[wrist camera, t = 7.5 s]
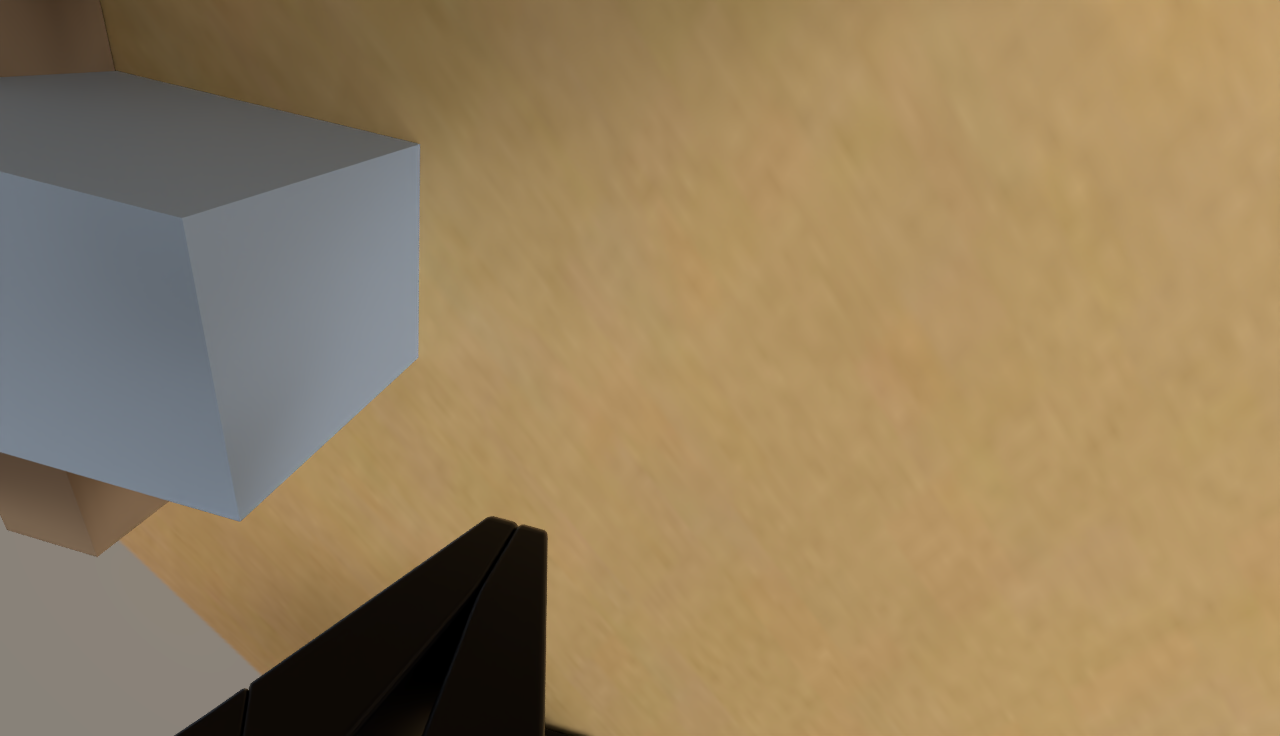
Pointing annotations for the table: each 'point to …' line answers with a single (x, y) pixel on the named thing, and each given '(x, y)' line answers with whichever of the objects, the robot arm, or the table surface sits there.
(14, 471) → the board
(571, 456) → the table surface
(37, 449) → the block
